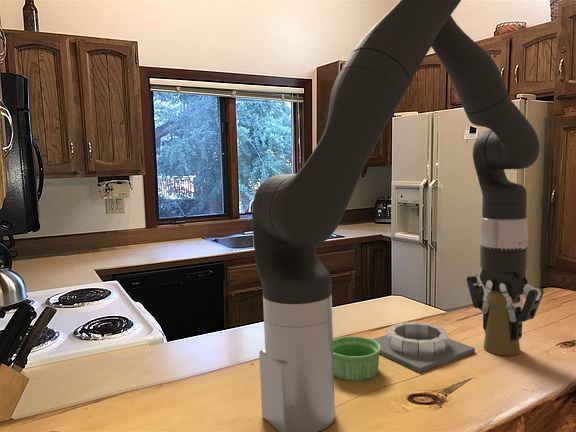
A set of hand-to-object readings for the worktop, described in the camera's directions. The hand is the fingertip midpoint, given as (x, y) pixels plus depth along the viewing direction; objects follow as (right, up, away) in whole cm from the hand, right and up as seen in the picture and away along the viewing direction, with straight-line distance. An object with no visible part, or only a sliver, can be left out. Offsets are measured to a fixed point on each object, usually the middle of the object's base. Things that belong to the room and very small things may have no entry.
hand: (501, 336), depth 84 cm
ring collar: (-15, -3, +2) cm, 15 cm away
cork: (0, -2, 0) cm, 2 cm away
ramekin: (-27, -4, -6) cm, 29 cm away
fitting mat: (-15, -3, +2) cm, 15 cm away
